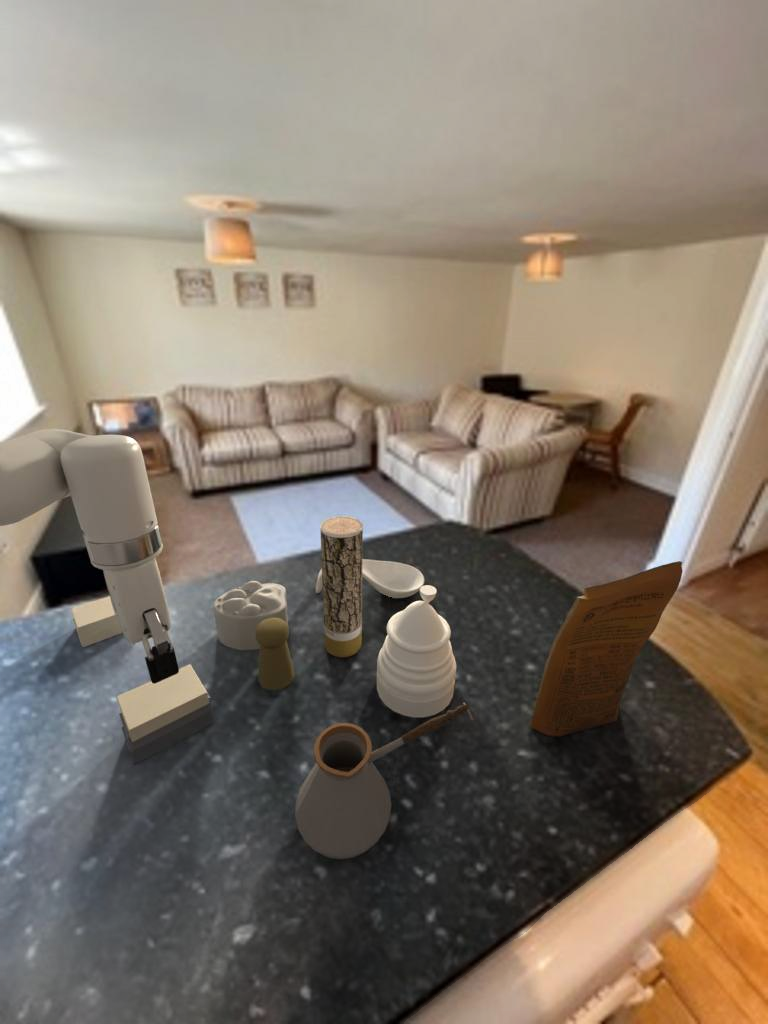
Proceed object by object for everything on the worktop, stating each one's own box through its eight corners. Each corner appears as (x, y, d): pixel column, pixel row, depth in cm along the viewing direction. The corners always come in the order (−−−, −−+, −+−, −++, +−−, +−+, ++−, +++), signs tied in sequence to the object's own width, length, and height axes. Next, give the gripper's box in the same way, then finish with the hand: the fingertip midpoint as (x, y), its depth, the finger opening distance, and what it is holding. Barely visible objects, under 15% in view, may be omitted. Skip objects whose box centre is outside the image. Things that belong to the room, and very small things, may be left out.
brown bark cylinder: (339, 665, 78) (336, 539, 68) (317, 644, 83) (312, 523, 72) (369, 648, 82) (371, 526, 72) (346, 629, 87) (345, 512, 76)
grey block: (134, 764, 60) (126, 739, 58) (125, 739, 64) (117, 714, 62) (214, 721, 67) (210, 697, 65) (202, 700, 70) (198, 677, 68)
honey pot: (403, 647, 83) (408, 564, 75) (466, 679, 76) (479, 591, 68) (360, 691, 73) (361, 600, 65) (428, 732, 66) (438, 636, 59)
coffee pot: (302, 886, 48) (294, 798, 42) (291, 786, 58) (284, 702, 52) (480, 831, 54) (497, 746, 48) (443, 748, 64) (452, 669, 58)
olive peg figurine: (282, 657, 79) (277, 607, 75) (301, 676, 75) (298, 624, 71) (251, 675, 75) (244, 623, 71) (270, 696, 72) (264, 642, 67)
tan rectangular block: (82, 647, 80) (75, 628, 78) (75, 627, 85) (69, 608, 83) (143, 625, 86) (139, 606, 84) (134, 607, 91) (130, 589, 89)
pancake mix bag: (646, 725, 68) (707, 570, 57) (538, 755, 63) (580, 591, 52) (614, 692, 74) (663, 545, 62) (513, 716, 69) (545, 561, 57)
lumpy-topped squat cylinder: (289, 645, 82) (286, 606, 79) (214, 654, 80) (208, 615, 76) (287, 610, 91) (285, 574, 88) (221, 617, 89) (215, 581, 85)
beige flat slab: (132, 742, 58) (128, 730, 57) (119, 707, 63) (116, 696, 62) (209, 703, 64) (207, 692, 63) (192, 674, 69) (190, 663, 68)
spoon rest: (420, 576, 104) (422, 549, 101) (426, 607, 94) (428, 578, 91) (319, 574, 104) (318, 548, 101) (313, 605, 93) (311, 576, 90)
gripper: (75, 525, 56) (108, 633, 63) (104, 587, 44) (141, 712, 51) (140, 510, 60) (164, 612, 68) (182, 562, 48) (206, 680, 56)
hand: (154, 655), depth 59 cm, fingers open, 9 cm apart
